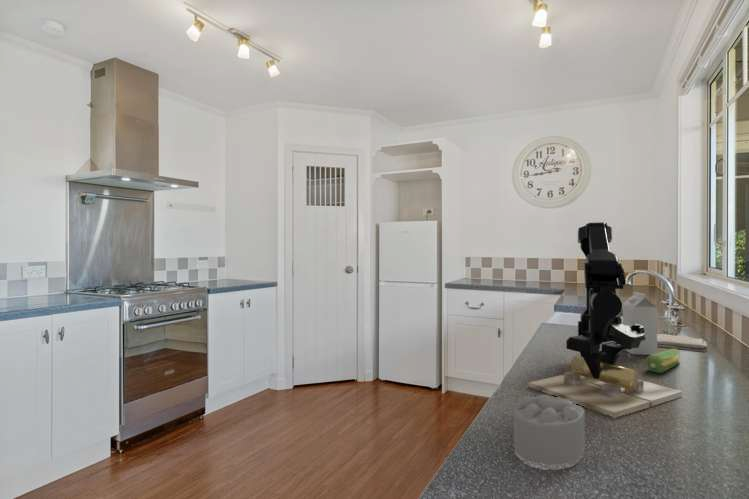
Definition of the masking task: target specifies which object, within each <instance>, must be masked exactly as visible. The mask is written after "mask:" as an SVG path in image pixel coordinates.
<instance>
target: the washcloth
mask: <svg viewBox="0 0 749 499" xmlns="http://www.w3.org/2000/svg"><path fill="white" fill-rule="evenodd" d="M708 347H709V345H707V341H706V340H704V339H702V338H694V337H691V336H687V335H671V334H665V333H664V334H662V333H659V334H658V333H657V348H666V349H667V348H669V349H677V350H687V351H692V352H693V351H696V352H705V353H706V351H707V348H708Z"/></svg>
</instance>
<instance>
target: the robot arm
mask: <svg viewBox="0 0 749 499" xmlns="http://www.w3.org/2000/svg"><path fill="white" fill-rule="evenodd" d="M577 229H578V230H577V243H578V244H579V245H580V246H579V247H580V250H581V251H582V253H583V254H584V256H585V262H584V264H583V275H584V278H583V279H584V286H585V291H586V292H585V307H584V309H583V310H582V312H581V313H580V317H579V319H580V320H578V321H577V334H576V335H574V336H570V337H568V338H567V339H566V343H565V344H566V345H565V346H566V349H567V350H571V351H575V352H577V353H580V356H581V357H583V358H584V360H585V362H586V364H587V366H588V368H589V370H590V372H591V374H592V376H593V378H595V379H599V374H600V363H601V362H604V363H608V364H612V365H616V366H617V361H618V359H619V357H620V354H622V353H623V352H624V351H625V350H627V349H628V350H630V349H632V348H638V347H639V345H640V343H641V341H643V340H645V337H644V336H645V332H644V327H643V326H641V325H639V324H636V325H633V326H632V327H630V326H629V325H628V326H625V325H623V318H621V316H620V313H621V311H622V310H623V303H622V300H621V298H620V297H619V296H618V295H617V290H624V286H626V274H625V269H624V267H623V265H622V263H621V262H620V263H619V261H618V258H617V255H616V254H615V253H613V252H611V251H610V245H609V244H610V243H611V242H612V241H613V236H612V235H613V233H612V232H613V229H612V227H611V226H610V225H608V223H607V222H606V223H605V222H600V221H599V222H598V221H597V222H588V223H586V224H585V225H583V226H580V227H578V228H577Z"/></svg>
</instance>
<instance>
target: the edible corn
mask: <svg viewBox="0 0 749 499" xmlns="http://www.w3.org/2000/svg"><path fill="white" fill-rule="evenodd" d="M678 352H679V349H675V348H669V349H667V350H663V351H660V352H657V353H654V354H651V355H648V356H647V357H646V362H645V363H646V366H647V367H648V370H649V371H650V372H653V373H656V374H662V373H664V372H666V371H668V370H670V369H671V368H673V367H675V366H678V365H680V358H679V355H678Z"/></svg>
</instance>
